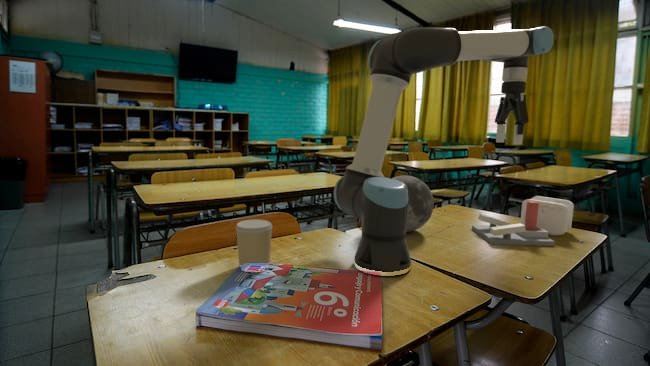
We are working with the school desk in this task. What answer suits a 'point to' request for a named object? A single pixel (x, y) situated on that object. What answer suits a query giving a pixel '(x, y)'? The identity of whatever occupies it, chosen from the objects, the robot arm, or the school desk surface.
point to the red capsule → (531, 215)
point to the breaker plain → (492, 220)
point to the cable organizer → (551, 214)
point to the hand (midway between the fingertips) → (508, 143)
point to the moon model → (417, 202)
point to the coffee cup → (254, 241)
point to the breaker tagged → (507, 229)
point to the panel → (515, 236)
